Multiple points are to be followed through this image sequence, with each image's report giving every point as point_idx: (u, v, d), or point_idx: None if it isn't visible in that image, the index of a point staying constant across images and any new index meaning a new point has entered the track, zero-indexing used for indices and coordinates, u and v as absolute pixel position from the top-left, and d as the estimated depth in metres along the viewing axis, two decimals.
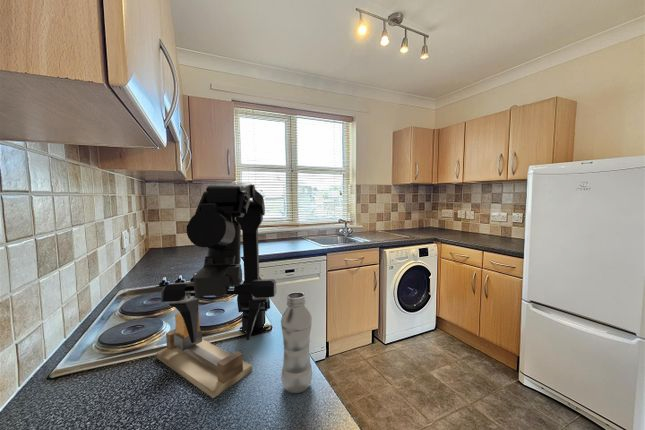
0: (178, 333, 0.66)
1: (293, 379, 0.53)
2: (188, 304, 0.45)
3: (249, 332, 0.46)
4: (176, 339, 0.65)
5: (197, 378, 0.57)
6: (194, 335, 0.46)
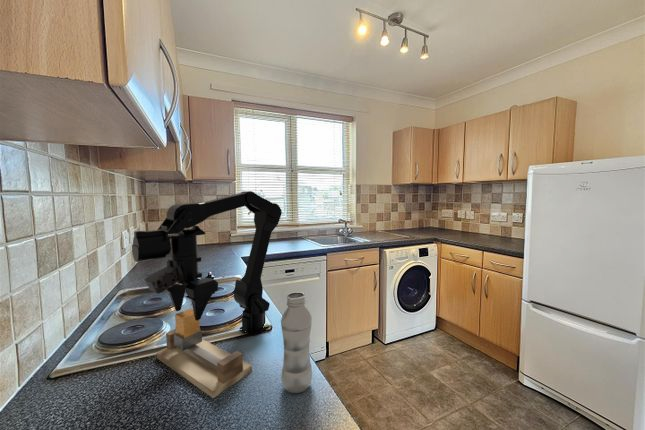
0: (178, 333, 0.66)
1: (293, 379, 0.53)
2: (168, 288, 0.68)
3: (195, 316, 0.63)
4: (176, 339, 0.65)
5: (197, 378, 0.57)
6: (177, 306, 0.69)
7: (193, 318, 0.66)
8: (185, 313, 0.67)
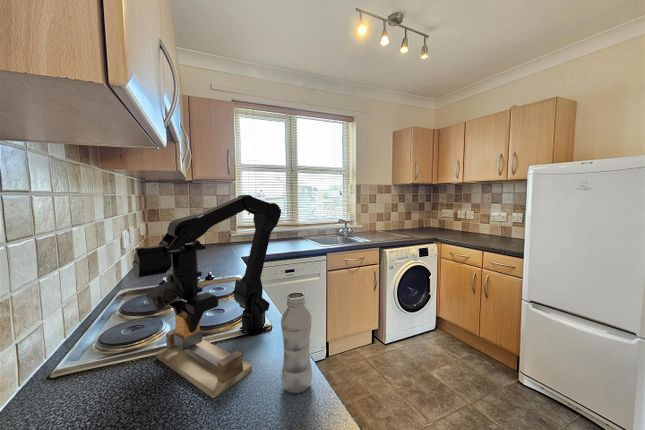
0: (178, 333, 0.66)
1: (293, 379, 0.53)
2: (173, 304, 0.66)
3: (190, 328, 0.65)
4: (176, 339, 0.65)
5: (197, 378, 0.57)
6: None
7: None
8: (185, 313, 0.67)
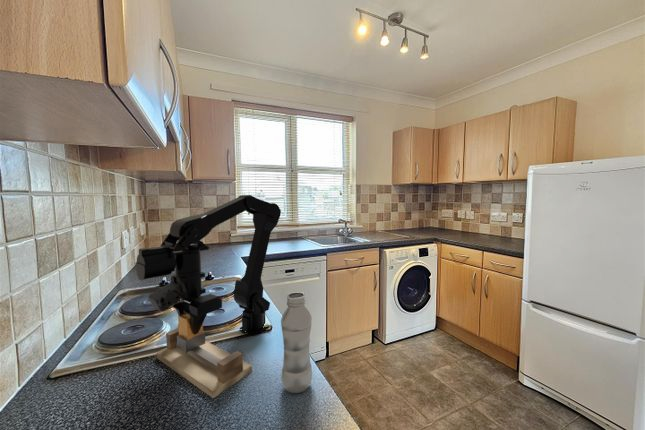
0: (181, 334, 0.65)
1: (293, 379, 0.53)
2: (176, 305, 0.66)
3: (193, 330, 0.64)
4: (179, 341, 0.65)
5: (197, 378, 0.57)
6: None
7: None
8: None
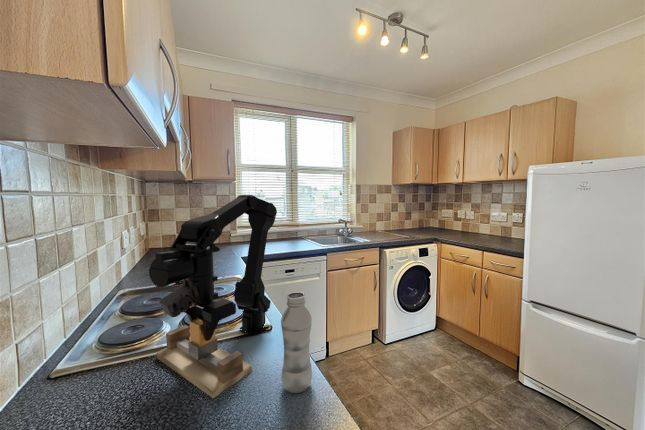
0: (192, 341, 0.62)
1: (293, 379, 0.53)
2: (188, 310, 0.63)
3: (205, 336, 0.61)
4: (191, 348, 0.62)
5: (197, 378, 0.57)
6: None
7: None
8: (200, 320, 0.63)
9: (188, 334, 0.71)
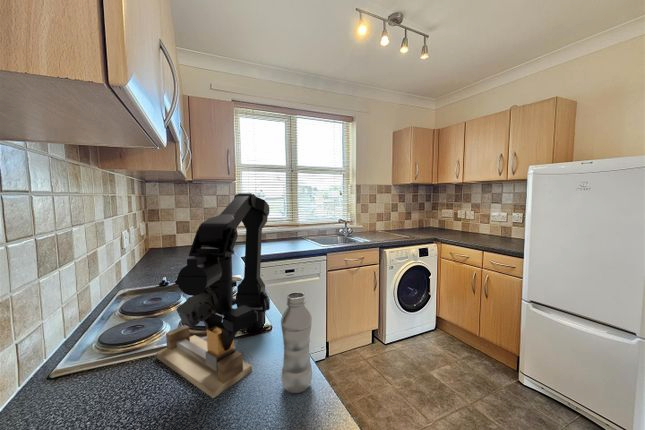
0: (210, 350, 0.58)
1: (293, 379, 0.53)
2: None
3: (224, 346, 0.57)
4: (208, 358, 0.58)
5: (197, 378, 0.57)
6: None
7: None
8: (218, 328, 0.59)
9: (188, 334, 0.71)
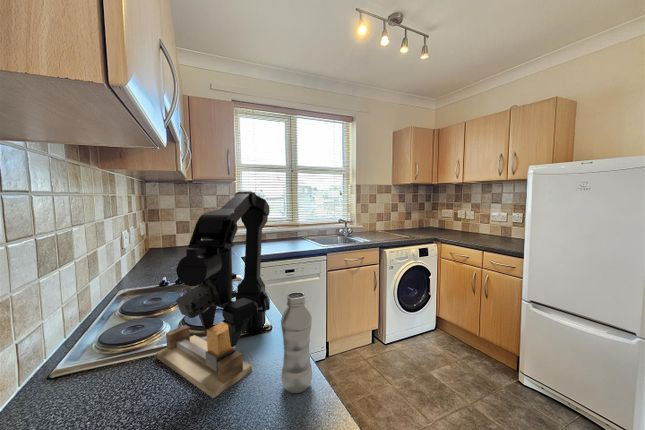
0: (210, 350, 0.58)
1: (293, 379, 0.53)
2: None
3: (231, 342, 0.55)
4: (208, 358, 0.58)
5: (197, 378, 0.57)
6: None
7: (227, 334, 0.58)
8: (218, 328, 0.59)
9: (188, 334, 0.71)
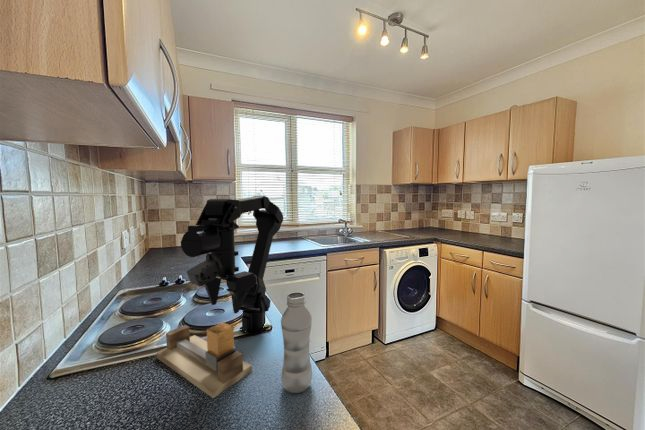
0: (210, 350, 0.58)
1: (293, 379, 0.53)
2: None
3: (234, 309, 0.64)
4: (208, 358, 0.58)
5: (197, 378, 0.57)
6: (213, 300, 0.70)
7: (227, 334, 0.58)
8: (218, 328, 0.59)
9: (188, 334, 0.71)
